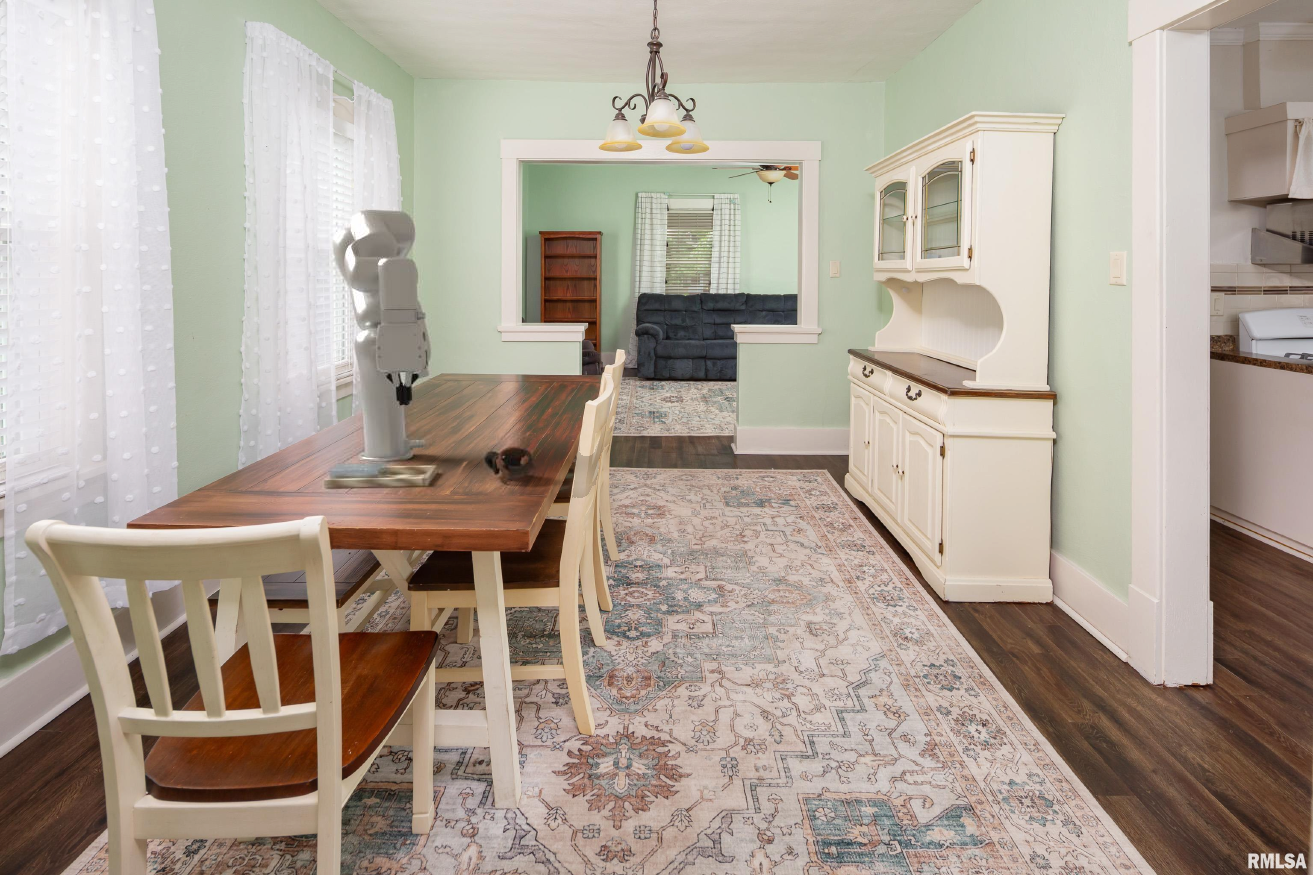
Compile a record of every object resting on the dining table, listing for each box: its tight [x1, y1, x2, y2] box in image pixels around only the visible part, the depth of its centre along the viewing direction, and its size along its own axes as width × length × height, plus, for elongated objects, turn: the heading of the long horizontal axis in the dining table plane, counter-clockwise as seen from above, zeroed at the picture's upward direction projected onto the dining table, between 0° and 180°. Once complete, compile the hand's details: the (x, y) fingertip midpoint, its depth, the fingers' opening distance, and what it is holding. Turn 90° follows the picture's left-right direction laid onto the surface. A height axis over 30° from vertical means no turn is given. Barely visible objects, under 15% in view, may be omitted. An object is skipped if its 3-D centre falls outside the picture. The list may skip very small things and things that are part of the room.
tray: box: [323, 465, 438, 489], centre depth 176 cm, size 21×12×2 cm, turn 96°
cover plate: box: [329, 462, 387, 479], centre depth 176 cm, size 10×7×3 cm
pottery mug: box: [483, 446, 537, 485], centre depth 180 cm, size 12×10×8 cm
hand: (404, 404), depth 174 cm, fingers closed
